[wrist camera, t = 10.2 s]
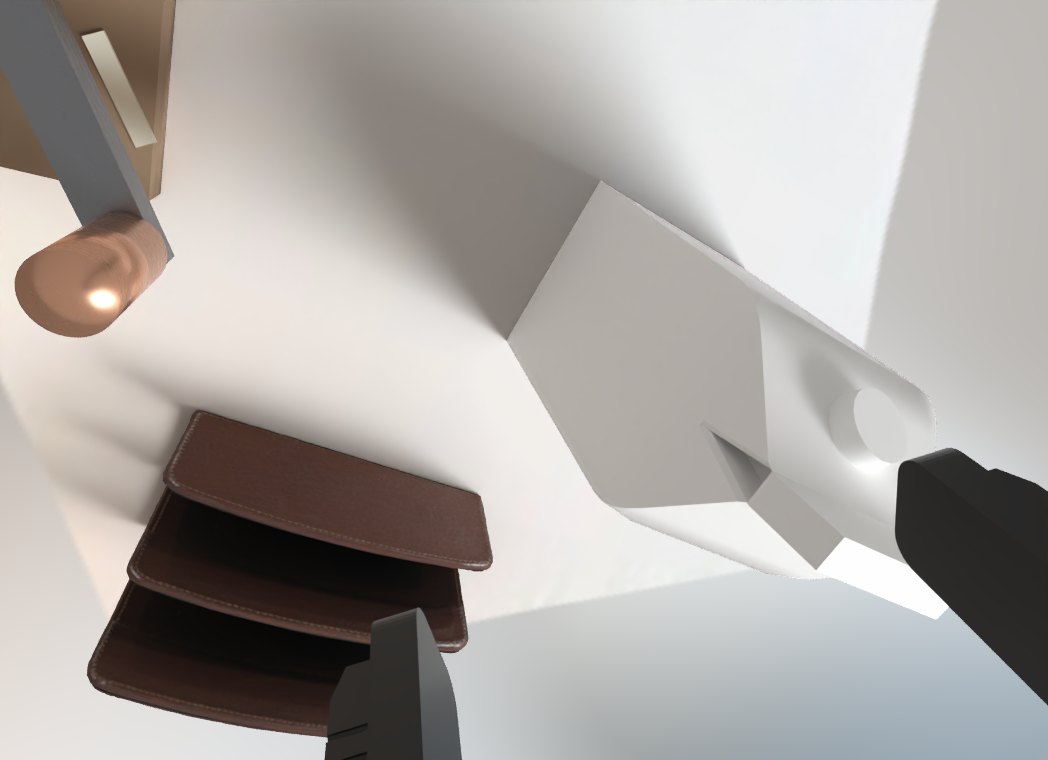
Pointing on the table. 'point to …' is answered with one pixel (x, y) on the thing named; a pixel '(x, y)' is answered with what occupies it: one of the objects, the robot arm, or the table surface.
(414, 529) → the letter holder
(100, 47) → the press bench
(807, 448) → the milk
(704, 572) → the table surface
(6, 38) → the lever
